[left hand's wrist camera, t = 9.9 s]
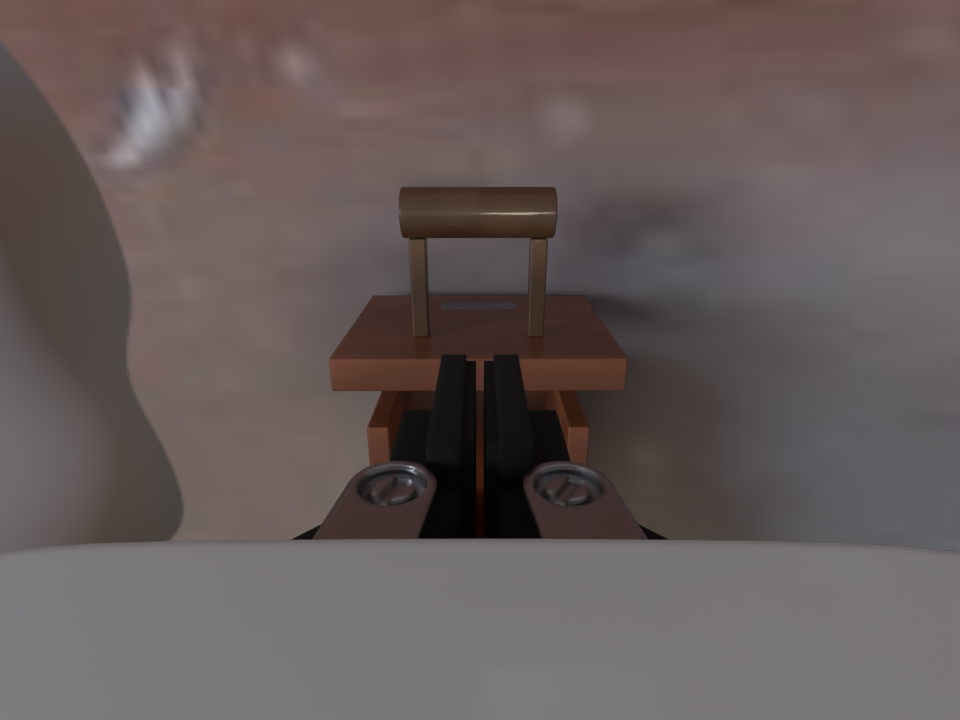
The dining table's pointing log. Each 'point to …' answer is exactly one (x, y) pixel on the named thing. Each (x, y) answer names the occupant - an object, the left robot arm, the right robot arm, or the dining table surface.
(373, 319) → the drawer
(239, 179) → the dining table surface
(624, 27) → the dining table surface
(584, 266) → the dining table surface
